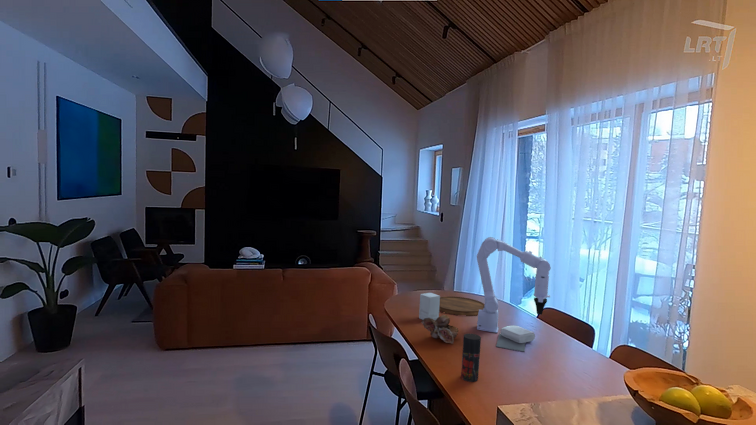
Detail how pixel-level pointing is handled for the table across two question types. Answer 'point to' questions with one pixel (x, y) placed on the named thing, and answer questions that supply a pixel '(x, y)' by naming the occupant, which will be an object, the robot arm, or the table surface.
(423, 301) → the supplement box
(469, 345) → the deodorant
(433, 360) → the table surface
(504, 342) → the mat
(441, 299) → the cutting board
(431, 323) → the seed pod
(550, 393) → the table surface
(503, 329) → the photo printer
